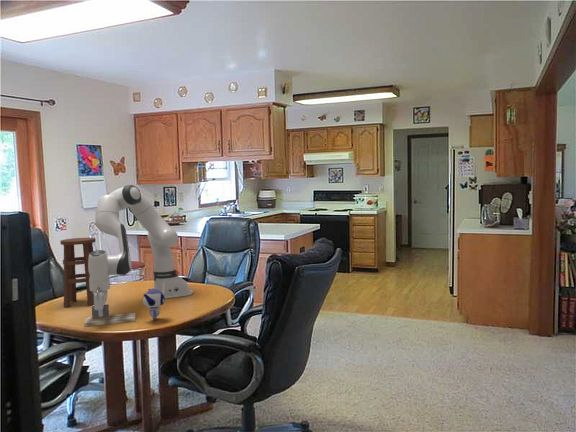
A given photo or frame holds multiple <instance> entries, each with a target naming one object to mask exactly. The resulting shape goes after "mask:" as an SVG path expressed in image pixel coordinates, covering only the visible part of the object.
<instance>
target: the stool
mask: <svg viewBox="0 0 576 432" xmlns="http://www.w3.org/2000/svg"><path fill="white" fill-rule="evenodd" d="M59 242H60V245H62V246H63V260H62V265H63V278H62V282H63V308H64V309H68V308H71V306H72V303H75V302H77V301H78V300H77V284H81V283H82V284H83V283H85V285H86V286H85V287H86V299H87V301H86V302H87V306H88V307H92V306H93V305H94V294H93V291H90V286H89V278H90V274H89V271H88V259H89V254H90V253H91V252H92V251H94V245H93V243H96V238H95V237H75V238H74V237H73V238H66V239H61V240H60V241H59ZM76 245H77V246H78V245H82V251H83V252H82V253H83V256H75V255H76V254H75V253H76V252H75V246H76ZM78 265H84V273H79V274H78V273H76V266H78Z"/></svg>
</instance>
